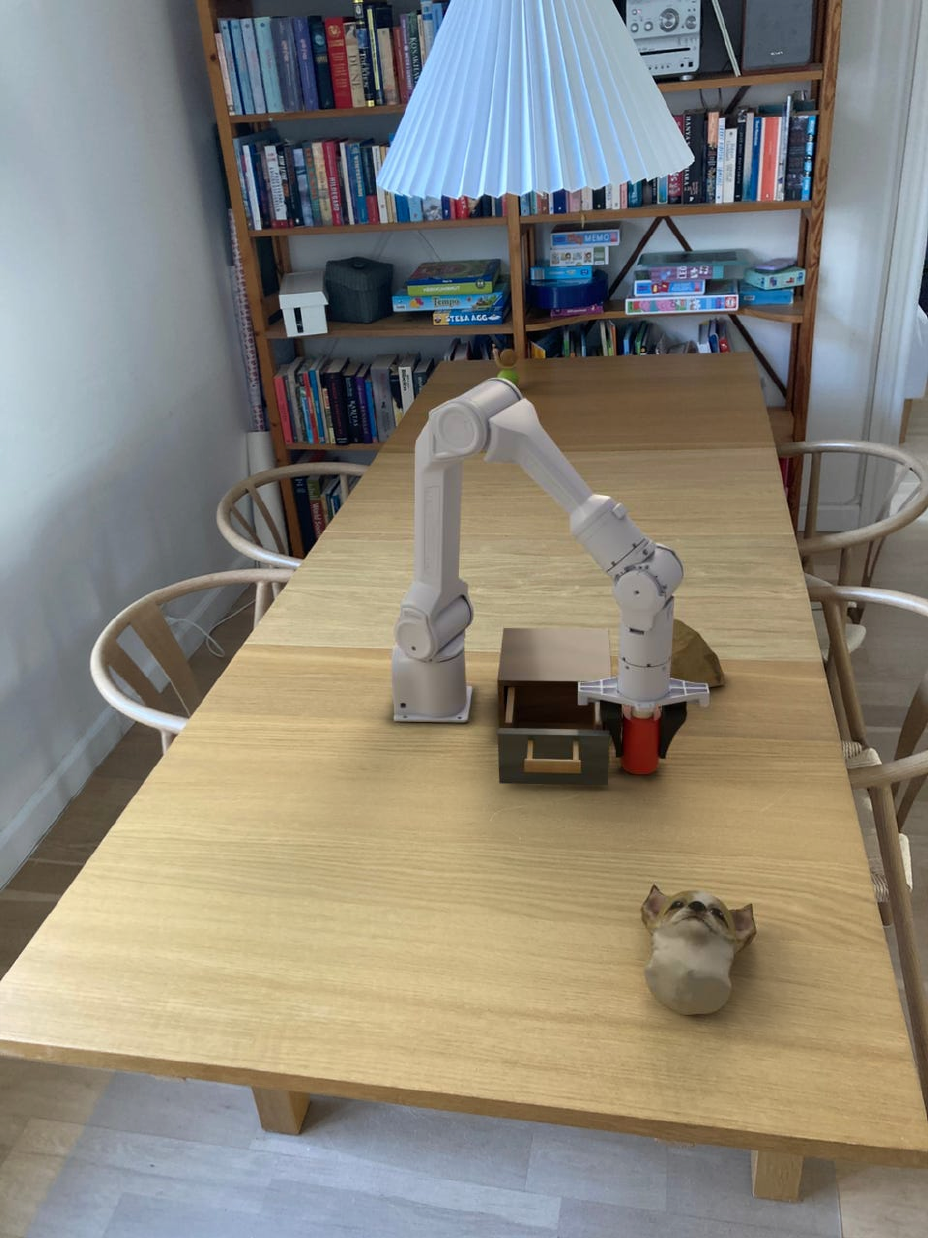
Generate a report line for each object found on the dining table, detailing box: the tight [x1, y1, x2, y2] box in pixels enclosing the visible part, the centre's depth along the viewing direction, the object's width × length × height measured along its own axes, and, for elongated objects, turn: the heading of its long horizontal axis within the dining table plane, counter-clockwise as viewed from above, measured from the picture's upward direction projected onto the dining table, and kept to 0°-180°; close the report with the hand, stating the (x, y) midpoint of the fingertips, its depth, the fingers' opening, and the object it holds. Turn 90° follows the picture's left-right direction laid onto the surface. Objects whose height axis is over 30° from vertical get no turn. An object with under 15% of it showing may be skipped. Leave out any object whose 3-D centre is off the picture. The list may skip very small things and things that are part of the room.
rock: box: [670, 617, 726, 688], centre depth 132 cm, size 11×9×10 cm
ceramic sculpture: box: [640, 883, 757, 1016], centre depth 91 cm, size 11×9×15 cm
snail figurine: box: [491, 343, 520, 388], centre depth 251 cm, size 5×6×12 cm
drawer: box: [497, 686, 611, 787], centre depth 117 cm, size 16×12×7 cm
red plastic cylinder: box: [620, 705, 662, 775], centre depth 117 cm, size 4×4×8 cm
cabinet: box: [496, 627, 613, 743], centre depth 128 cm, size 13×14×9 cm
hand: (639, 753), depth 118 cm, fingers closed on red plastic cylinder, 4 cm apart
